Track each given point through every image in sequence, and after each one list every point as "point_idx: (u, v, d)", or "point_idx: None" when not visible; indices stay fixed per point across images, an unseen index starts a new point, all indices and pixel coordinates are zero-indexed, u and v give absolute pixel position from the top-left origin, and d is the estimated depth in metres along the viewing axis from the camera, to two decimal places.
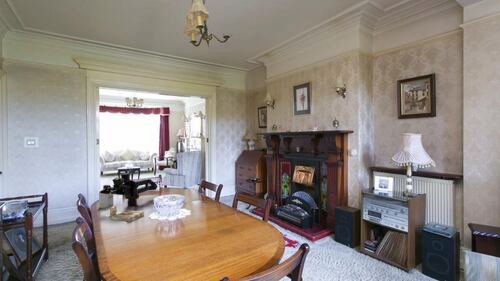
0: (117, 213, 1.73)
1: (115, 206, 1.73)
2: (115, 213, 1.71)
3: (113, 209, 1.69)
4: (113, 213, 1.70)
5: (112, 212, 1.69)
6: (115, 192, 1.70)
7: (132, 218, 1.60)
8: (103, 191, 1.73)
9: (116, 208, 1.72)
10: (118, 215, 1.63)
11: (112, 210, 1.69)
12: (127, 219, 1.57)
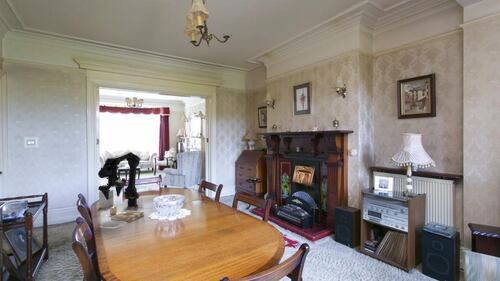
0: (117, 213, 1.73)
1: (115, 206, 1.73)
2: (115, 213, 1.71)
3: (113, 209, 1.69)
4: (113, 213, 1.70)
5: (112, 212, 1.69)
6: None
7: (132, 218, 1.60)
8: None
9: (116, 208, 1.72)
10: (118, 215, 1.63)
11: (112, 210, 1.69)
12: (127, 219, 1.57)
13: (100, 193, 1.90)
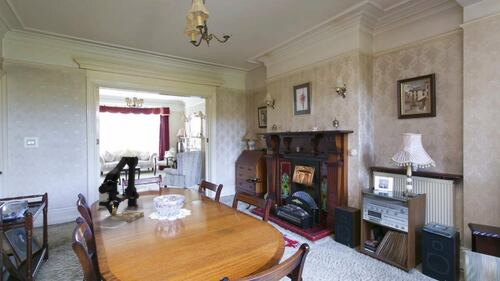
0: (117, 213, 1.73)
1: (115, 206, 1.73)
2: (115, 213, 1.71)
3: (113, 209, 1.69)
4: (113, 213, 1.70)
5: (112, 212, 1.69)
6: None
7: (132, 218, 1.60)
8: None
9: (116, 208, 1.72)
10: (118, 215, 1.63)
11: (112, 210, 1.69)
12: (127, 219, 1.57)
13: (100, 193, 1.90)
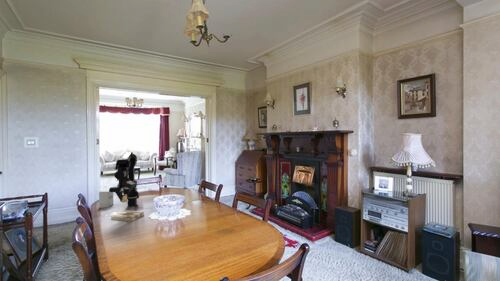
0: (117, 213, 1.73)
1: None
2: (125, 200, 1.66)
3: (123, 196, 1.65)
4: (123, 200, 1.65)
5: (122, 199, 1.65)
6: None
7: (132, 218, 1.60)
8: None
9: (126, 195, 1.67)
10: (118, 215, 1.63)
11: (122, 197, 1.65)
12: (127, 219, 1.57)
13: (100, 193, 1.90)
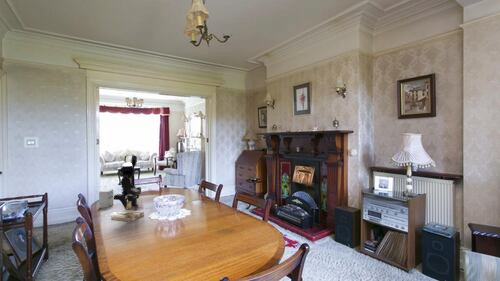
0: (117, 213, 1.73)
1: None
2: (130, 207, 1.65)
3: (127, 203, 1.64)
4: (128, 207, 1.64)
5: (127, 206, 1.64)
6: None
7: (132, 218, 1.60)
8: None
9: None
10: (118, 215, 1.63)
11: (127, 204, 1.64)
12: (127, 219, 1.57)
13: (100, 193, 1.90)
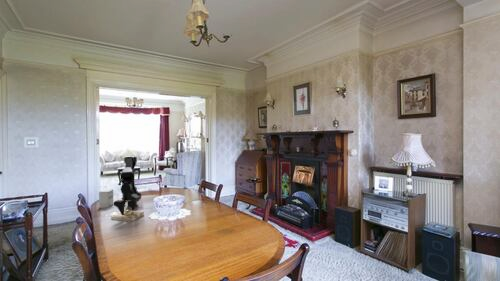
0: (117, 213, 1.73)
1: None
2: None
3: (128, 212, 1.64)
4: None
5: None
6: None
7: (132, 218, 1.60)
8: None
9: None
10: (118, 215, 1.63)
11: (127, 214, 1.64)
12: (127, 219, 1.57)
13: (100, 193, 1.90)
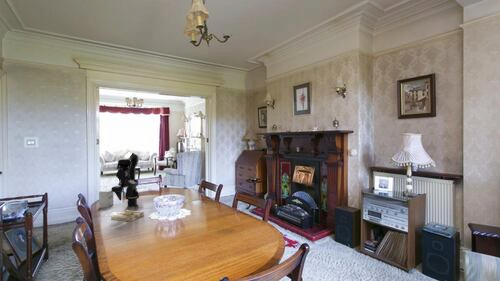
0: (117, 213, 1.73)
1: None
2: None
3: (128, 212, 1.64)
4: None
5: None
6: None
7: (132, 218, 1.60)
8: None
9: None
10: (118, 215, 1.63)
11: (127, 214, 1.64)
12: (127, 219, 1.57)
13: (100, 193, 1.90)
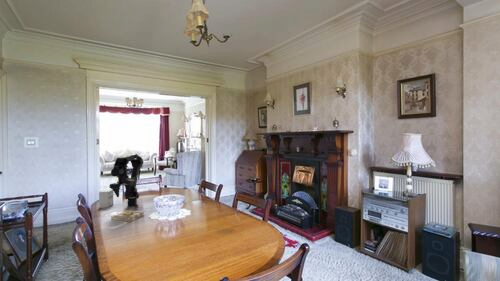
0: (117, 213, 1.73)
1: None
2: None
3: (128, 212, 1.64)
4: None
5: None
6: None
7: (132, 218, 1.60)
8: None
9: None
10: (118, 215, 1.63)
11: (127, 214, 1.64)
12: (127, 219, 1.57)
13: (100, 193, 1.90)
